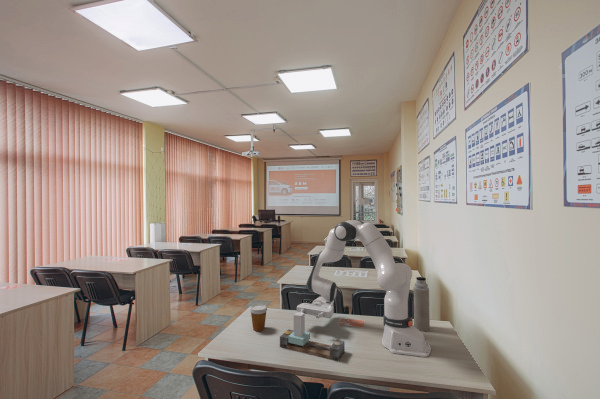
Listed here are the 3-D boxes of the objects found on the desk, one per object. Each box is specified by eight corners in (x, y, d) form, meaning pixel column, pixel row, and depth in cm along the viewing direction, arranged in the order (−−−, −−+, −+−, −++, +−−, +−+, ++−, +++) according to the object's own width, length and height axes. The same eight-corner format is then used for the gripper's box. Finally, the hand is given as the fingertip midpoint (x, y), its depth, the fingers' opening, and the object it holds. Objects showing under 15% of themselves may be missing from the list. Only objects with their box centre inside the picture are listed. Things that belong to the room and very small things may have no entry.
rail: (344, 351, 136) (344, 339, 136) (338, 361, 128) (338, 348, 128) (288, 338, 149) (288, 328, 149) (279, 346, 141) (279, 335, 141)
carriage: (310, 338, 143) (309, 312, 143) (303, 345, 136) (302, 318, 136) (295, 335, 147) (295, 309, 147) (288, 342, 139) (288, 315, 140)
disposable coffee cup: (262, 333, 155) (262, 311, 156) (247, 331, 158) (246, 309, 159) (270, 326, 164) (269, 305, 165) (255, 324, 167) (255, 303, 168)
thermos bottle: (415, 324, 165) (414, 275, 166) (430, 327, 161) (429, 276, 162) (412, 329, 158) (412, 278, 159) (428, 332, 154) (427, 280, 155)
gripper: (302, 298, 169) (291, 306, 156) (335, 303, 160) (326, 312, 147) (302, 309, 169) (291, 318, 156) (336, 315, 160) (327, 324, 147)
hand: (309, 315), depth 152 cm, fingers open, 8 cm apart
